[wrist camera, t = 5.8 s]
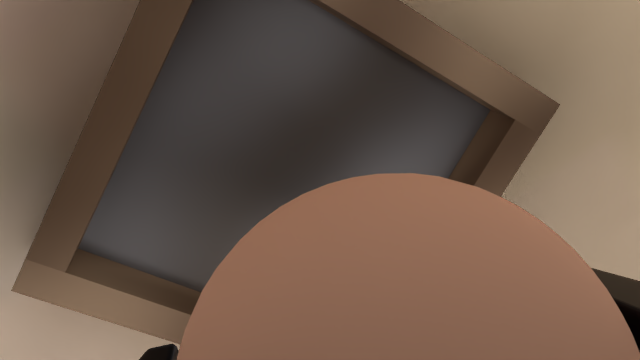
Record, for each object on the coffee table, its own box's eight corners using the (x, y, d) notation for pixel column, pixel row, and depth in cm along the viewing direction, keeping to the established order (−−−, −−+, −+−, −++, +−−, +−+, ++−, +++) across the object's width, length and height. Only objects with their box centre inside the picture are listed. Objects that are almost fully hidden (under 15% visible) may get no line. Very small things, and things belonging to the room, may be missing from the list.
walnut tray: (520, 92, 17) (559, 104, 15) (351, 363, 19) (366, 403, 17) (199, -111, 13) (198, -130, 11) (35, 255, 15) (10, 290, 13)
